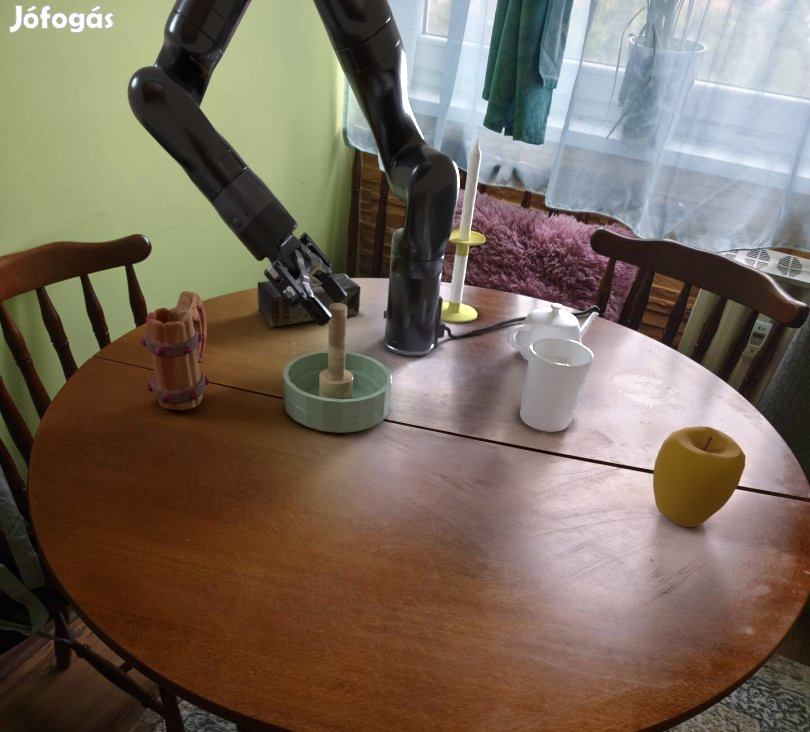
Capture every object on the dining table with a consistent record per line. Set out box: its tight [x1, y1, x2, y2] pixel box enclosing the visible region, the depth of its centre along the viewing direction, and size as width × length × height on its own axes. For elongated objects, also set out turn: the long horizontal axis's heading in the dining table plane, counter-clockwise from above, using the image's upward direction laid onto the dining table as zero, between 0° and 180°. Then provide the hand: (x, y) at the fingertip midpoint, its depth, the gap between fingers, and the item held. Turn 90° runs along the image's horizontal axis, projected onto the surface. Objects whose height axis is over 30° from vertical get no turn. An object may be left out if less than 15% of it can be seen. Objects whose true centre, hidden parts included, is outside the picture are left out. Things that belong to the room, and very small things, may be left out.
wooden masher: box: [319, 303, 353, 399], centre depth 105 cm, size 5×5×16 cm
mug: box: [139, 290, 210, 411], centre depth 105 cm, size 15×8×15 cm, turn 168°
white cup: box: [519, 337, 594, 433], centre depth 110 cm, size 10×10×12 cm
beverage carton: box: [257, 273, 362, 327], centre depth 135 cm, size 8×19×7 cm, turn 121°
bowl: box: [282, 350, 393, 434], centre depth 109 cm, size 17×17×6 cm
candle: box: [440, 138, 487, 324], centre depth 134 cm, size 10×10×32 cm
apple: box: [652, 425, 746, 528], centre depth 93 cm, size 11×11×13 cm
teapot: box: [506, 302, 600, 362], centre depth 129 cm, size 20×12×10 cm, turn 115°
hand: (334, 310), depth 100 cm, fingers open, 8 cm apart
